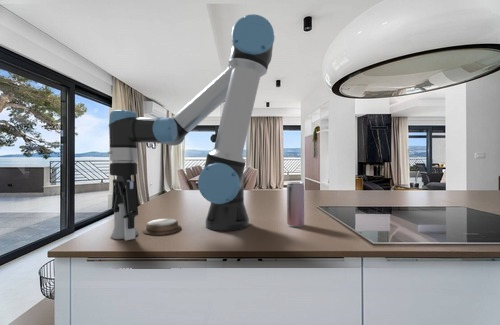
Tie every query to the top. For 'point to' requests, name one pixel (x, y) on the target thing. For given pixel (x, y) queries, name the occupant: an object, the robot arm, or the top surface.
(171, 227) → the pedestal
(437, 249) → the top surface
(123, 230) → the flask
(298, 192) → the beverage can
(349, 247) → the top surface
